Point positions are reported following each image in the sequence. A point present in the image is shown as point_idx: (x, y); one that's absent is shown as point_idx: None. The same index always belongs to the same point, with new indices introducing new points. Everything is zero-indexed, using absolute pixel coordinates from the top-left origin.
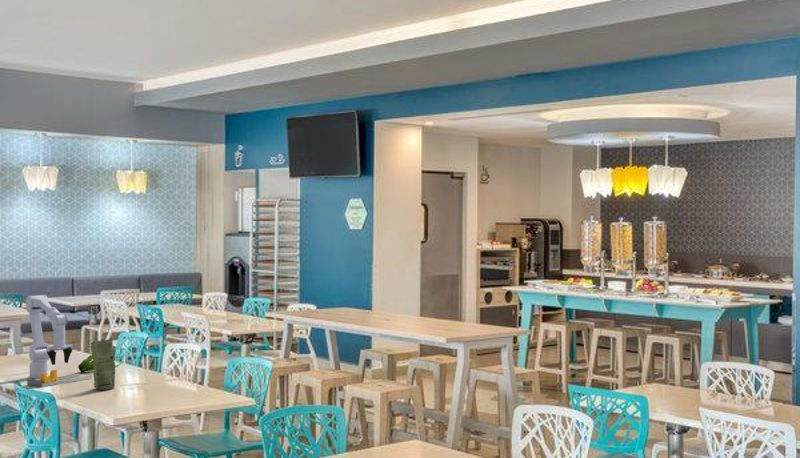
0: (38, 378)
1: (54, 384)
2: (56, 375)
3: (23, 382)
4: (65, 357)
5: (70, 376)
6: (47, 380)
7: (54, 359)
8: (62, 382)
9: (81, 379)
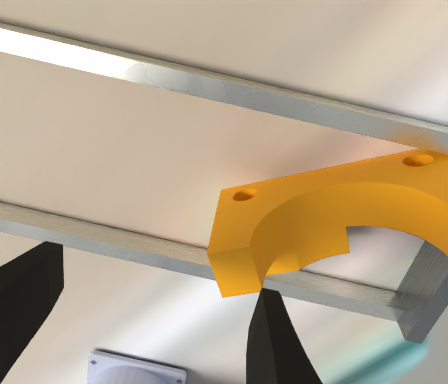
0: (184, 371)
1: (359, 106)
2: (225, 219)
3: None
4: (13, 335)
5: (36, 218)
6: (403, 174)
7: (290, 351)
8: (269, 87)
9: (49, 35)
